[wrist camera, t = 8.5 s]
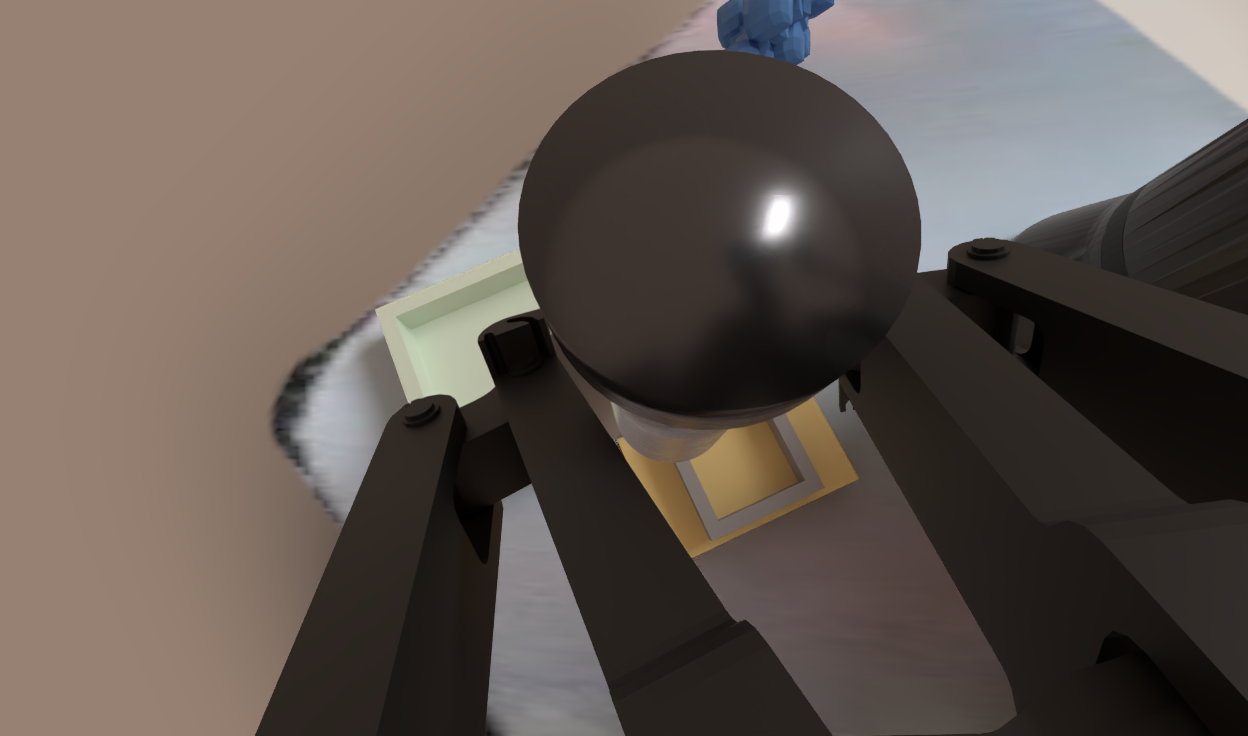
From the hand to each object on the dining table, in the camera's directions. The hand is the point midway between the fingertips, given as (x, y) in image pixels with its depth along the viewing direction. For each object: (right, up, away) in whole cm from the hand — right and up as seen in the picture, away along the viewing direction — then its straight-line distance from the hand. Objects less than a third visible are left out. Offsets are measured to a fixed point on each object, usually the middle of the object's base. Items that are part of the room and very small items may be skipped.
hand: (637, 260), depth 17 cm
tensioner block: (+6, -9, +18) cm, 21 cm away
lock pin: (+1, -5, +3) cm, 5 cm away
